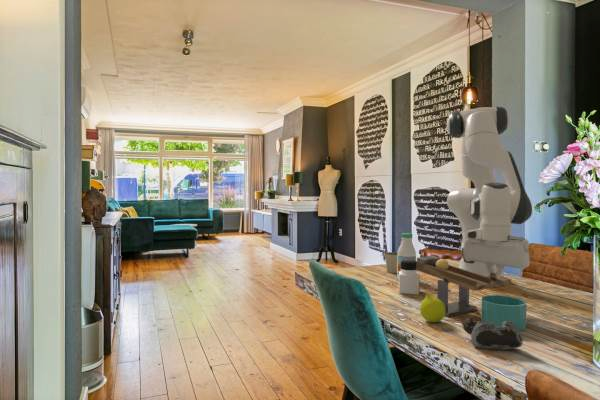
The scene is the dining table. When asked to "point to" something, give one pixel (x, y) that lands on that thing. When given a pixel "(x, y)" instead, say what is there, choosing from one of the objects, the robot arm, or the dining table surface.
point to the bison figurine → (493, 335)
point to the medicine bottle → (408, 278)
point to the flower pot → (391, 261)
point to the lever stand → (456, 306)
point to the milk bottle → (405, 251)
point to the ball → (442, 264)
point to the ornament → (432, 308)
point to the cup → (504, 310)
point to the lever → (458, 275)
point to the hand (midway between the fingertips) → (494, 278)
